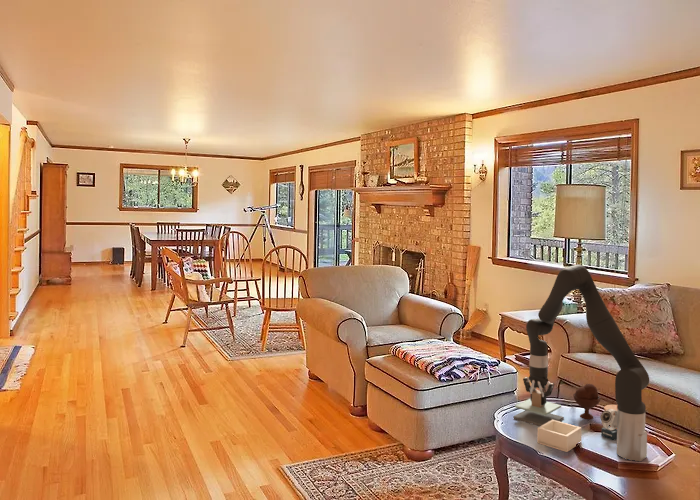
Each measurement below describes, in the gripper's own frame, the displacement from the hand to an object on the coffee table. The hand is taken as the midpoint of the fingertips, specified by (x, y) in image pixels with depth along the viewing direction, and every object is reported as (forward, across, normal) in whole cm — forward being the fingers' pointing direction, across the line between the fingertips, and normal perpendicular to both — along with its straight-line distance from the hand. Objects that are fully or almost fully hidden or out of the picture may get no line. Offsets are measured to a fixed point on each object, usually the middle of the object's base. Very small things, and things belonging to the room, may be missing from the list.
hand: (538, 403), depth 248 cm
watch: (+7, -30, -2) cm, 31 cm away
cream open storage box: (+7, -18, +17) cm, 26 cm away
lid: (+2, 0, 0) cm, 2 cm away
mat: (+7, 0, 0) cm, 7 cm away
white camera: (+7, -28, -14) cm, 32 cm away
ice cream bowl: (+7, -14, -16) cm, 23 cm away
